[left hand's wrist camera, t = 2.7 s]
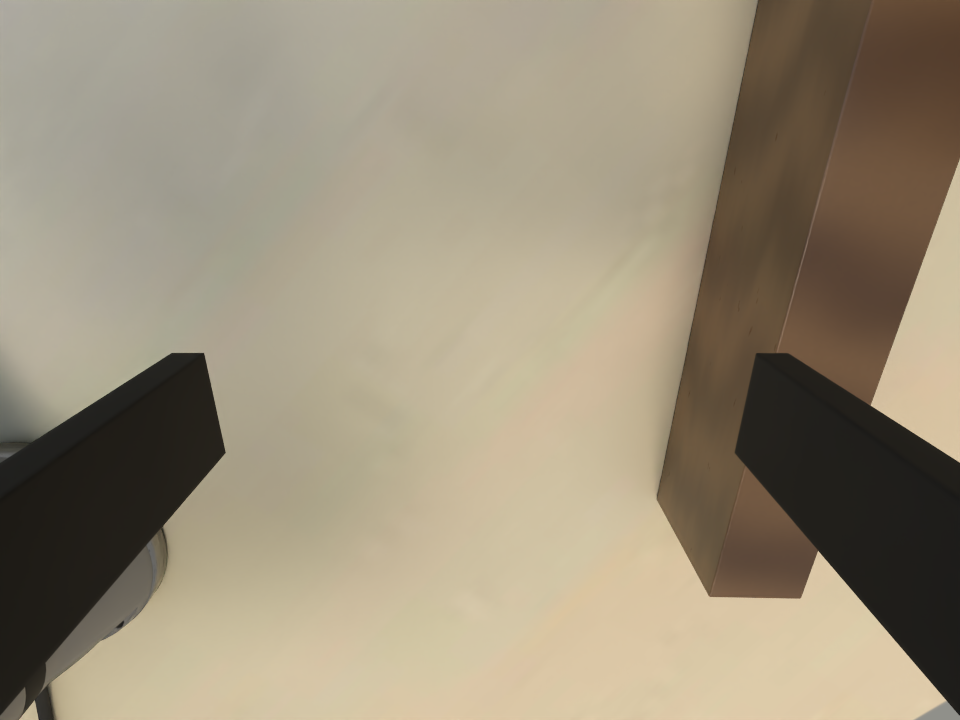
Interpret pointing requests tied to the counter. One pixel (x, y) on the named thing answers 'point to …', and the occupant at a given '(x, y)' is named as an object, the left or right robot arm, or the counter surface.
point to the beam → (808, 251)
